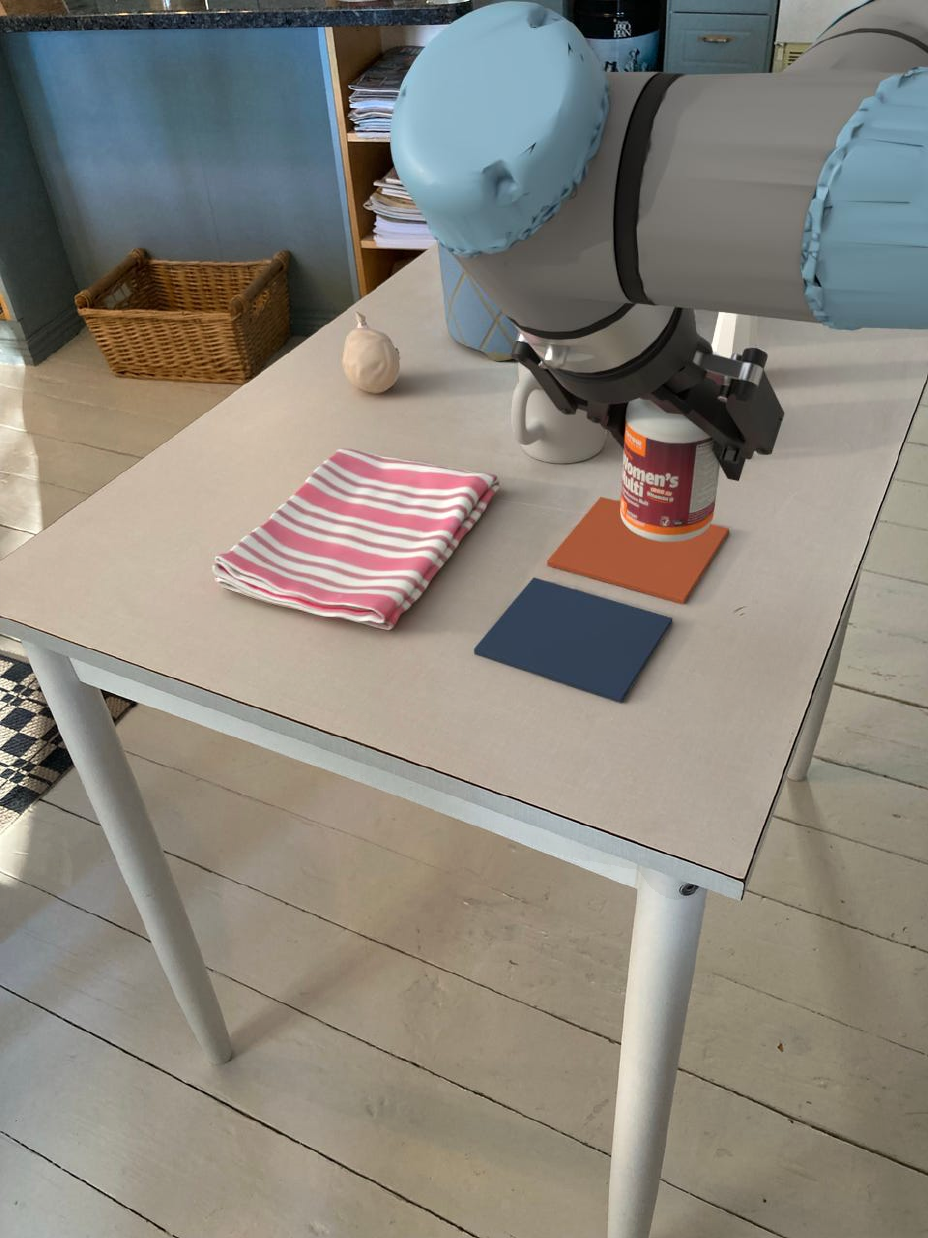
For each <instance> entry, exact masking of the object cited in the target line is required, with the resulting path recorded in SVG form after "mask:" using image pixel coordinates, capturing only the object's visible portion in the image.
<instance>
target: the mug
mask: <svg viewBox="0 0 928 1238" xmlns="http://www.w3.org/2000/svg"><path fill="white" fill-rule="evenodd" d="M517 364H518V365H517V367H518V368H517V369H518V370H517V371H518V383H517V384H516V386H515V388H514V391H513V394H512V398H511V399H512V400H511V407H510V408H511V410H510V418H511V428H512V429H511V430H512V432H513V433H512V434H513V437H514V439H515V440H516V441H517V443H518V444H520V447H521V449H522V450H523V452H524V453H525V454H526V455H527V456H529V457H530V458H532V459H535V460H537V461H540V462H545V463H548V464H549V463H550V464H561V465H562V464H575V463H579V462H582V461H586V460H589V459H591V458H593V457H594V456H596V455H598V454H599V453H600V452H601V451H602V449H604V446H605V444H606V438H607V437H606V435H607V430H606V429H604V428H603V427H602V426H601V424H600V423H598V424H597V423H593V422H591V420H588V419H587V417H586V416H587V412H586V411H583V410H580V409H577V411H576V414H575V415H570V414H569V415H566V414H563V413H562V412H561V411H559V410H558V409H557V408H556V406H555V405H554V404H553V402H552V401H551V399H550V398H549V397H548V395H547V394H546V392H545V391H544V390H543V388H542V387H541V386H540V384H539V383H538V381H537V380H536V379H535V377H534V376H533V374H532V373H531V372H530V370H528V369H527V368H526V367H524V366H523V365H522V364H520V363H519V362H517Z"/></svg>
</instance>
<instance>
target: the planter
mask: <svg viewBox="0 0 928 1238" xmlns="http://www.w3.org/2000/svg"><path fill="white" fill-rule="evenodd" d="M436 241H437V240H436ZM437 250H438V251H437V252H438V260H439V269H440V276H441V288H442V297H443V298H442V299H443V306H444V316H445V317H444V318H445V325H446V329H447V331H448V334H449V335H450V336H451V337H452V338H453V339H454V340H455V341H457V343H460V344H462V345H463V346H466V347H469V348H471V349H474V350H477V351H480V352H482V353H484V354H485V355H486V356H487V357H488V358H489V359H491V360H492V361H494V362H503V361H509V360H514V359H513V358H512V357H511V353H512V349H513V346H514V343H515V340H516V337H517V334H518V331H519V330H518V329H517V328H516V327H515V325H514V324H513V323H512V322H511V321H510V320H509V319H508V318H507V317H506V316H505V315H504V314H503V313H502V312H501V310H500V309H499V308H498V307H497V306H496V305H495V304H494V302H493V301H492V300H491V299H490V298H489V296H488V295H487V294H486V293H485V292H484V291H483V289H482V288H481V287H480V286H479V285H478V284H477V283H476V281H475V280H474V279H473V278H472V277H471V276H470V275H469V273H468V272H467V271H466V270H465V269H464V268H463V266H462V265H461V264H460V263H459V262H458V261H457V260H456V258H455V257H454V256H453V255H452V254H451V253H450V252H449V251H448V250H446V249H445V248H444V247H442V246H441V245H440V244H439V243H438V241H437Z"/></svg>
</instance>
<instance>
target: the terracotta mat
mask: <svg viewBox="0 0 928 1238" xmlns="http://www.w3.org/2000/svg"><path fill="white" fill-rule="evenodd" d="M620 503H621V500H620V501H619V500H615V499H611V498H608V497H603V496H600V497H599V498H598V499H597V500H596V502H594V504H593V505H592V506H591V508H589V510H588V511H587V512H586V513H585V515H584V516H583V517H582V518H581V520H580V521H579V522H578V523H577V525H575V527H574V528H573V529H572V531H571V532H569V534H568V535H567V537H566V538H564V540H563V542H561V544H560V545H559V546H558V547H557V549H555V551H554V552H553V553H552V554H551V556H550V557H549V558H548V559H547V561H546V566H548V567H551V568H556V569H559V570H562V571H566V572H570V573H572V574H576V575H580V576H584V577H587V578H591V579H593V580H596V581H600V582H603V583H607V584H612V585H615V586H617V587H622V588H625V589H628V590H632V591H635V592H639V593H643V594H647V595H649V596H654V597H657V598H660V599H663V600H667V601H671V602H674V603H678V604H682V605H684V604H686V601H687V600H688V598H689V597H690V595H691V594H692V592H693V590H694V589H695V587H696V585H697V584H698V582H699V580H700V579H701V578H702V576H703V574H704V573H705V571H706V570H707V568H708V566H709V564H710V563H711V562H712V560H713V558H714V557H715V556H716V554H717V552H718V550H719V549H720V547H721V546H722V544H723V543H724V541H725V539H726V538H727V536H728V535H729V532H730V528H729V527H725V526H720V525H718V524H713V523H711V524H710V526H709V527H708V528H707V529H706V530H705V531H704V532H703V533H701V534H700V535H698V536H696V537H693V538H691V539H687V540H683V541H677V542H660V541H654V540H650V539H647V538H644V537H642V536H640V535H637V534H636V533H634V532H633V531H631V530H630V529H629V528H628V527H627V526H626V525H625V524H624V522H623V520H622V518H621V513H620Z"/></svg>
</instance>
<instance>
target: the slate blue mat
mask: <svg viewBox="0 0 928 1238" xmlns="http://www.w3.org/2000/svg"><path fill="white" fill-rule="evenodd" d="M672 623H673V617H670V616H667V615H664V614H660V613H658V612H653V611H650V610H647V609H643V608H640V607H636V606H633V605H630V604H626V603H622V602H620V601H617V600H613V599H609V598H606V597H602V596H598V595H595V594H592V593H589V592H585V591H582V590H580V589H579V590H578V589H576V588H571V587H568V586H564V585H561V584H557V583H554V582H551V581H548V580H545V579H541V578H538V577H532V579H531V580H530V581H529V583H527V584H526V586H525V587H524V588H523V589H522V591H521V592H520V593H519V594H518V595H517V596H516V598H515V599H514V600H513V601H512V603H511V604H510V605H509V606H508V607H507V609H506V610H505V611H504V612H503V613H502V615H500V617H499V618H498V619H497V621H496V622H495V623H494V624H493V625H492V627H491V628H490V629H489V630H488V631H487V633H486V634H485V635H484V636H483V637H482V638H481V639H480V641H479V642H478V644H476V646H475V647H474V649H473V654H474V655H477V656H479V657H483V658H486V659H488V660H489V659H490V660H492V661H494V662H498V663H501V664H503V665H506V666H510V667H512V668H515V669H518V670H521V671H524V672H528V673H530V674H533V675H537V676H540V677H542V678H545V679H549V680H551V681H555V682H557V683H560V684H563V685H566V686H569V687H572V688H575V689H578V690H582V691H584V692H586V693H590V694H593V695H596V696H599V697H602V698H605V699H607V700H611V701H614V702H615V703H616V702H617V703H620V704H622V703H623V701H624V700H625V699H626V697H627V695H628V693H629V692H630V690H631V689H632V687H633V686H634V684H635V683H636V681H637V679H638V678H639V676H640V674H641V673H642V671H643V670H644V668H645V667H646V665H647V663H648V662H649V660H650V658H651V657H652V655H653V653H654V652H655V651H656V649H657V647H658V646H659V645H660V643H661V641H662V639H663V638H664V636H665V635H666V633H667V632H668V630H669V629H670V627H671V625H672Z"/></svg>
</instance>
